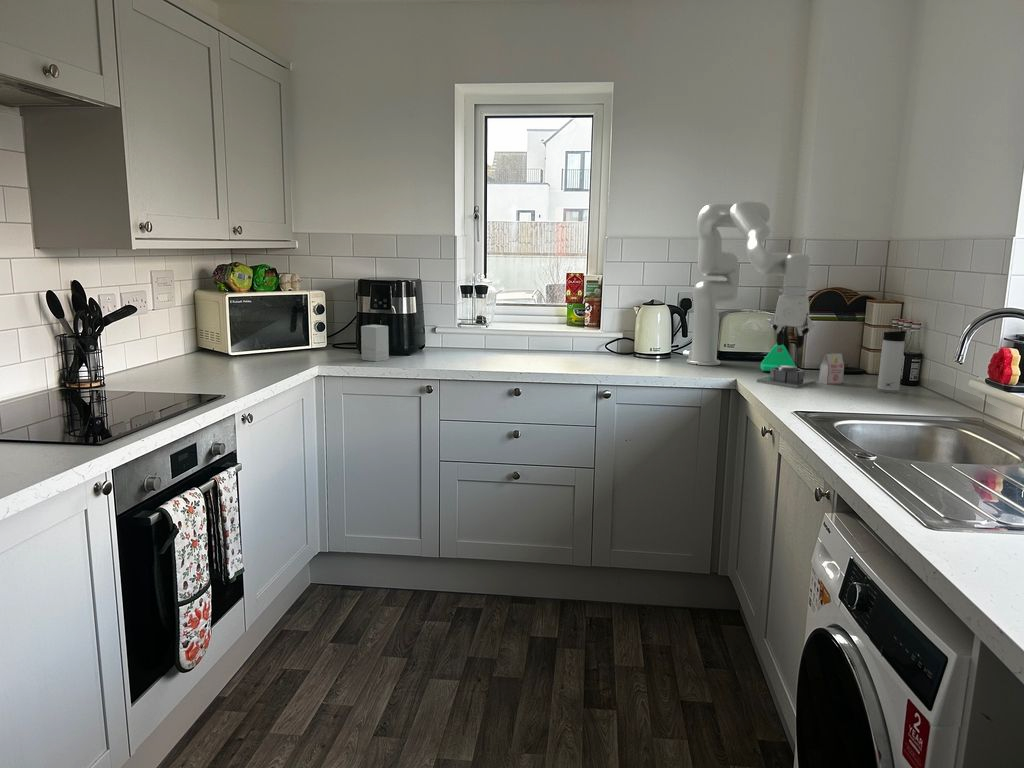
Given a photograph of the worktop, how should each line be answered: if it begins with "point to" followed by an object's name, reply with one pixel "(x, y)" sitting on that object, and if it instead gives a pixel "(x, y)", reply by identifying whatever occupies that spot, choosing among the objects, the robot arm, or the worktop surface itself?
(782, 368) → the dark grey rounded block
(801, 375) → the grey square base
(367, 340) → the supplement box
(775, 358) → the green triangle piece
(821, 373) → the milk carton
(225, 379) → the worktop surface
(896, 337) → the travel mug
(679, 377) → the worktop surface
